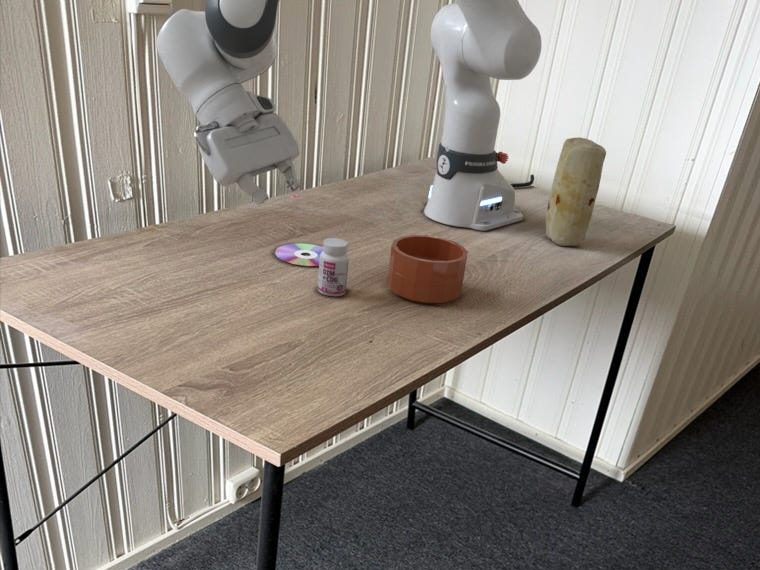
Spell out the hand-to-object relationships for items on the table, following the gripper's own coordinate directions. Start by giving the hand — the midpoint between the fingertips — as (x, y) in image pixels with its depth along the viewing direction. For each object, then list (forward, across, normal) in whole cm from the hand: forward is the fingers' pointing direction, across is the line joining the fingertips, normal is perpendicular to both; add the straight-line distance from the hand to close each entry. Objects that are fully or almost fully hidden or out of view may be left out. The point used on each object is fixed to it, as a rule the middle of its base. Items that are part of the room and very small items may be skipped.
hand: (280, 195), depth 134 cm
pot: (+26, +11, -7) cm, 29 cm away
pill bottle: (+17, 0, +2) cm, 17 cm away
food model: (+34, +56, -14) cm, 66 cm away
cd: (+9, +11, +10) cm, 17 cm away
